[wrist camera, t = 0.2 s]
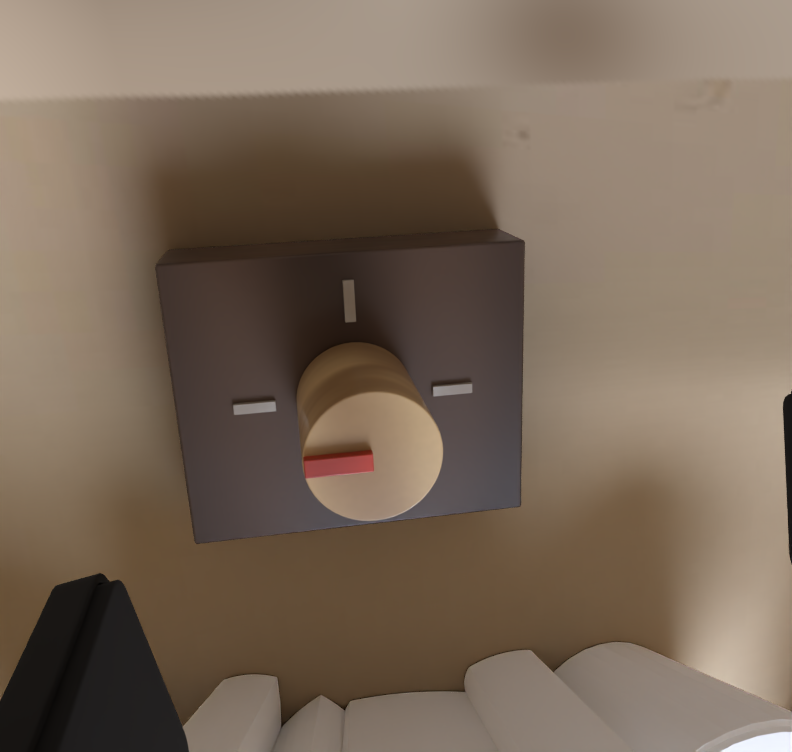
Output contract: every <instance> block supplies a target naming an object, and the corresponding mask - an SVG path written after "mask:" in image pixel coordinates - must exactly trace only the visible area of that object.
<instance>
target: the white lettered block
mask: <svg viewBox="0 0 792 752" xmlns="http://www.w3.org/2000/svg"><path fill="white" fill-rule="evenodd" d="M464 687H465V692H452V691H431V692H411V693H399V694H390V695H382V696H375V697H369V698H363V699H358V700H353V701H350V702H349V704H348V705H347V707H346V710H345V711H344V710H343V709H342V708H341V707H339V706H338V705H337V704H335V703H334V702H332V701H331V700H329V699H327V698H326V697H324V696H322V695H320V696H318V697H317V698H315V699H314V700H312V701H311V702H309V703H308V704H307V705H305V706H304V707H303V708H302V709H300V710H299V711H298V712H297V713H296V714H295V715H293V716H292V717H291V718H290V719H289V720H288V721H287V722H286V723H285V724H284V725H283V726H282V728H281V703H280V695H279V687H278V679H277V677H275V676H269V675H260V674H251V675H241V676H235V677H231V678H228V679H224V680H223V681H222V682H221V683H220V684H219V685H218V687H217V688H216V689H215V690H214V691H213V692H212V693H211V695H210V696H209V697H208V698H207V699H206V700H205V702H204V703H203V704H202V705H201V706H200V707H199V708H198V710H197V711H196V712H195V713H194V714H193V715H192V717H191V718H190V719H189V720H188V721H187V722H186V724H185V725H184V726H183V730H184V732H185V735H186V738H187V743H188V748H189V752H792V711H790V710H787V709H785V708H783V707H781V706H778V705H776V704H774V703H771V702H769V701H767V700H764V699H762V698H760V697H757V696H755V695H753V694H751V693H748V692H746V691H744V690H741V689H739V688H737V687H734V686H732V685H730V684H727V683H725V682H723V681H721V680H718V679H716V678H714V677H711V676H709V675H707V674H704V673H702V672H700V671H697V670H695V669H693V668H691V667H688V666H686V665H684V664H681V663H679V662H677V661H674V660H672V659H670V658H667V657H665V656H663V655H661V654H658V653H656V652H654V651H651V650H649V649H647V648H644V647H642V646H638V645H635V644H632V643H624V642H611V643H605V644H599V645H596V646H593V647H591V648H588V649H585V650H583V651H581V652H580V653H578V654H576V655H574V656H573V657H571V658H569V659H568V660H567V661H566V662H564V663H563V664H562V665H561V666H560V667H559V668H557V669H556V670H555V671H554V673H553V672H552V671H551V670H550V669H549V668H548V667H547V666H546V665H545V664H544V663H543V662H542V661H541V660H540V659H539V658H538V657H537V656H536V655H535V654H534V653H533V652H532V651H531V650H518V651H511V652H506V653H502V654H498V655H495V656H492V657H489V658H486V659H484V660H482V661H480V662H477V663H476V664H474V665H472V666H470V667H469V668H468V670H467V672H466V675H465V680H464Z"/></svg>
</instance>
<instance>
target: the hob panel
mask: <svg viewBox="0 0 792 752" xmlns="http://www.w3.org/2000/svg"><path fill="white" fill-rule="evenodd" d="M524 257H525V242H524V240H522V239H519V238H517V237H515V236H513V235H511V234H508V233H506V232H504V231H502V230H499V229H491V230H475V231H459V232H444V233H428V234H412V235H396V236H380V237H365V238H349V239H333V240H317V241H301V242H286V243H270V244H254V245H238V246H223V247H207V248H191V249H175V250H168V251H167V252H166V253H165V254H164V255H163V257H162V258H161V259H160V260H159V261H158V263H157V264H156V265H155V270H156V277H157V284H158V291H159V298H160V305H161V312H162V319H163V326H164V333H165V340H166V347H167V354H168V361H169V368H170V375H171V381H172V388H173V395H174V402H175V409H176V416H177V423H178V430H179V437H180V444H181V451H182V458H183V465H184V472H185V479H186V486H187V493H188V500H189V507H190V513H191V520H192V527H193V534H194V541H195V543H196V544H200V543H209V542H218V541H226V540H235V539H244V538H253V537H261V536H270V535H279V534H287V533H296V532H305V531H313V530H322V529H331V528H339V527H348V526H357V525H366V524H374V523H383V522H392V521H400V520H409V519H418V518H426V517H435V516H444V515H452V514H461V513H470V512H479V511H487V510H496V509H505V508H513V507H520V506H521V461H522V393H523V325H524ZM351 342H363V343H370V344H374V345H377V346H379V347H382V348H384V349H386V350H387V351H389V352H390V353H392V354H393V355H394V356H396V357H397V358H398V359H399V360H400V362H401V363H402V364H403V365H404V367H405V369H406V370H407V372H408V374H409V376H410V377H411V379H412V381H413V383H414V385H415V386H416V388H417V390H418V392H419V394H420V396H421V397H422V399H423V401H424V403H425V405H426V406H427V408H428V410H429V412H430V414H431V415H432V417H433V419H434V421H435V423H436V424H437V426H438V429H439V431H440V434H441V438H442V443H443V460H442V465H441V469H440V472H439V475H438V477H437V479H436V481H435V483H434V485H433V486H432V488H431V490H430V491H429V492H428V493H427V494H426V496H425V497H424V498H423V499H422V500H421V501H420V502H419V503H417V504H416V505H415V506H413V507H412V508H411V509H409V510H407V511H405V512H404V513H401V514H399V515H397V516H394V517H391V518H387V519H383V520H377V521H361V520H354V519H350V518H347V517H343V516H341V515H339V514H337V513H334V512H333V511H331V510H330V509H328V508H327V507H325V506H324V505H323V504H322V503H321V502H320V501H319V500H318V499H317V498H316V497H315V496H314V494H313V493H312V491H311V490H310V488H309V486H308V484H307V482H306V479H305V476H304V473H303V466H302V457H301V446H300V435H299V424H298V414H297V398H296V396H297V389H298V385H299V382H300V379H301V377H302V375H303V373H304V371H305V370H306V368H307V367H308V366H309V364H310V363H311V362H312V361H313V360H314V359H315V358H316V357H317V356H319V355H320V354H321V353H322V352H324V351H326V350H328V349H329V348H332V347H334V346H337V345H340V344H344V343H351Z"/></svg>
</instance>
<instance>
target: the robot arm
mask: <svg viewBox="0 0 792 752" xmlns="http://www.w3.org/2000/svg"><path fill="white" fill-rule="evenodd" d="M783 418H784V440H785V463H786V486H787V509H788V531H789V554H790V560H791V563H792V391H791V394H789V395H787V396H786V397H785V399H784V402H783ZM0 752H189V748H188V743H187V738H186V735H185V732H184V730H183V727H182V725H181V722H180V720H179V717H178V715H177V712H176V710H175V708H174V705H173V703H172V700H171V698H170V695H169V693H168V690H167V688H166V685H165V683H164V681H163V678H162V676H161V673H160V671H159V668H158V666H157V663H156V661H155V659H154V656H153V654H152V651H151V649H150V646H149V644H148V641H147V639H146V637H145V634H144V632H143V629H142V627H141V624H140V622H139V619H138V617H137V614H136V612H135V610H134V607H133V605H132V602H131V600H130V597H129V595H128V592H127V590H126V588H125V586H124V584H123V583H122V582H121V581H120V580H115V581H112V582H109V580H108V579H107V578H106V577H105V575H103V574H101V573H99V574H96V575H92V576H89V577H85V578H81V579H78V580H74V581H70V582H67V583H63V584H59V585H57V586H55V587H54V589H53V590H52V592H51V594H50V596H49V598H48V600H47V603H46V605H45V607H44V609H43V611H42V613H41V615H40V618H39V620H38V622H37V624H36V626H35V628H34V630H33V632H32V635H31V637H30V639H29V641H28V643H27V645H26V647H25V649H24V652H23V654H22V656H21V658H20V660H19V662H18V664H17V666H16V669H15V671H14V673H13V675H12V677H11V679H10V681H9V683H8V686H7V688H6V690H5V692H4V694H3V696H2V698H1V701H0Z"/></svg>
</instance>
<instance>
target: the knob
mask: <svg viewBox="0 0 792 752" xmlns="http://www.w3.org/2000/svg"><path fill="white" fill-rule="evenodd" d="M296 398H297V414H298V424H299V435H300V446H301V457H302V466H303V473H304V476H305V479H306V482H307V484H308V486H309V488H310V490H311V491H312V493H313V494H314V496H315V497H316V498H317V499H318V500H319V501H320V502H321V503H322V504H323V505H324V506H325V507H327V508H328V509H330V510H331V511H333V512H334V513H337V514H339V515H341V516H343V517H347V518H350V519H354V520H361V521H377V520H383V519H387V518H391V517H394V516H397V515H399V514H401V513H404V512H405V511H407V510H409V509H411V508H412V507H413V506H415V505H416V504H417V503H419V502H420V501H421V500H422V499H423V498H424V497H425V496H426V494H427V493H428V492H429V491H430V490H431V488H432V486H433V485H434V483H435V481H436V479H437V477H438V475H439V472H440V469H441V465H442V460H443V443H442V438H441V434H440V431H439V429H438V426H437V424H436V423H435V421H434V419H433V417H432V415H431V414H430V412H429V410H428V408H427V406H426V405H425V403H424V401H423V399H422V397H421V396H420V394H419V392H418V390H417V388H416V386H415V385H414V383H413V381H412V379H411V377H410V376H409V374H408V372H407V370H406V369H405V367H404V365H403V364H402V363H401V362H400V360H399V359H398V358H397V357H396V356H394V355H393V354H392V353H390V352H389V351H387V350H386V349H384V348H382V347H379V346H377V345H374V344H370V343H363V342H351V343H344V344H340V345H337V346H334V347H332V348H329V349H328V350H326V351H324V352H322V353H321V354H320V355H319V356H317V357H316V358H315V359H314V360H313V361H312V362H311V363H310V364H309V366H308V367H307V368H306V370H305V371H304V373H303V375H302V377H301V379H300V382H299V385H298V389H297V396H296Z"/></svg>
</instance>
